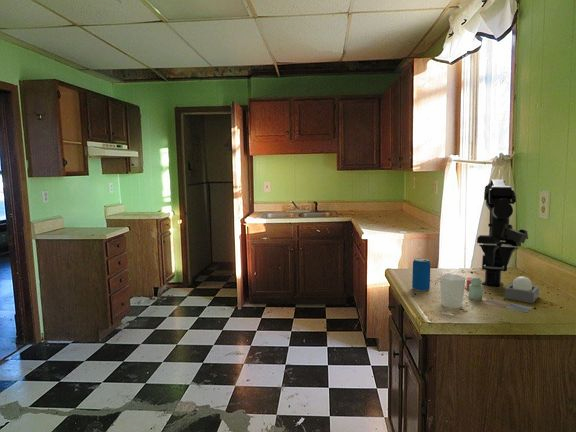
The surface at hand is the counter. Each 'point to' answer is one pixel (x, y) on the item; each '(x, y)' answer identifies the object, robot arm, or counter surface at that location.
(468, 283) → the red die
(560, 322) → the counter surface
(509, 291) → the grey square tray
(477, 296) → the pawn
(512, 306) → the game track
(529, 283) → the dome
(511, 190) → the robot arm
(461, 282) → the white cup
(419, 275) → the beverage can
